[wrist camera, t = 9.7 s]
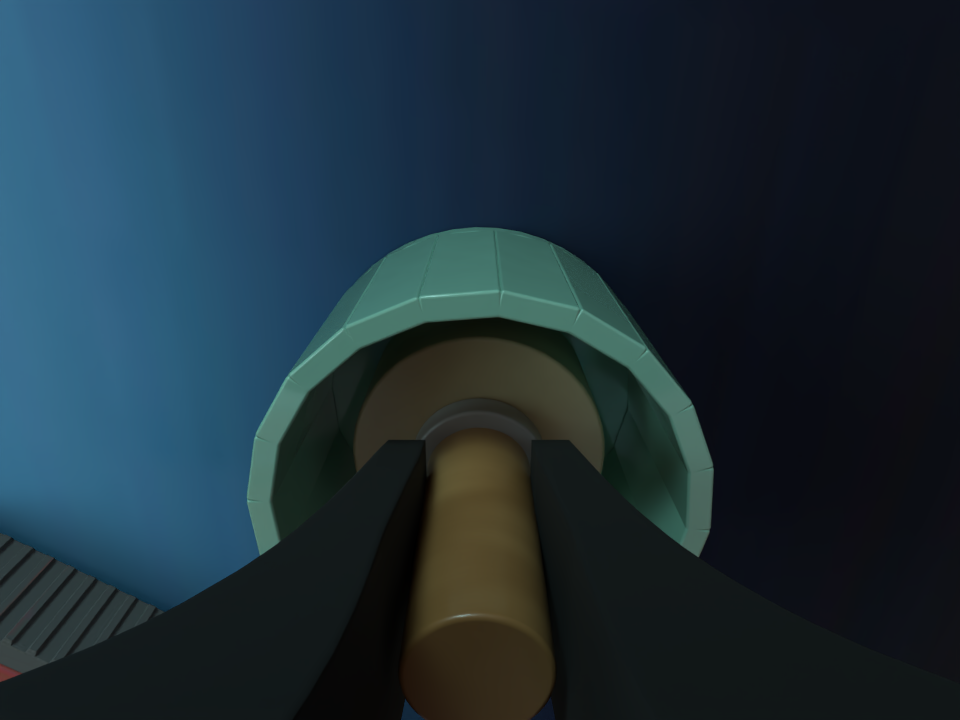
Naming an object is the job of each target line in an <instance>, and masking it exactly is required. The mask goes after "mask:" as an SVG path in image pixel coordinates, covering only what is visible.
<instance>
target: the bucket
mask: <svg viewBox="0 0 960 720" xmlns="http://www.w3.org/2000/svg"><path fill="white" fill-rule="evenodd" d="M495 317H500V318H504V319H509V320H513V321H517V322H522V323H526V324H531V325H535V326H539V327H544V328H548V329H552V330H557V331H560V332H561V333H562V334H563V335H564V337H565V338H566V339H567V340H568V342H569V343H570V345H571V346H572V348H573V349H574V351H575V353H576V355H577V357H578V359H579V361H580V364H581V367H582V369H583V372H584V375H585V377H586V380H587V383H588V385H589V388H590V391H591V393H592V396H593V399H594V401H595V404H596V407H597V409H598V412H599V415H600V419H601V422H602V425H603V432H604V439H605V456H604V462H603V469H602V472H601V475H602V476H603V477H604V478H605V479H606V480H607V481H608V482H609V483H610V484H611V485H612V486H613V487H614V488H615V489H616V490H617V491H618V492H619V493H620V494H621V495H622V496H623V497H624V498H625V499H626V500H627V501H628V502H629V503H631V504H632V505H633V506H634V507H635V508H636V509H637V510H638V511H639V512H641V513H642V514H643V515H644V516H645V517H646V518H648V519H649V520H650V521H651V522H652V523H654V524H655V525H656V526H657V527H658V528H660V529H661V530H662V531H663V532H664V533H666V534H667V535H668V536H670V537H671V538H672V539H673V540H675V541H676V542H677V543H679V544H680V545H681V546H683V547H684V548H686V549H687V550H689V551H690V552H691V553H693V554H694V555H696V556H697V557H699V555H700V553H701V551H702V549H703V546H704V544H705V542H706V539H707V537H708V535H709V529H710V528H711V513H712V495H713V476H714V468H713V462H712V459H711V456H710V453H709V450H708V447H707V444H706V441H705V438H704V435H703V432H702V429H701V425H700V422H699V419H698V416H697V413H696V410H695V407H694V405H693V404H692V402H691V400H690V399H689V397H688V396H687V394H686V393H685V391H684V390H683V388H682V387H681V386H680V384H679V383H678V381H677V380H676V378H675V377H674V376H673V374H672V373H671V371H670V370H669V368H668V367H667V366H666V364H665V363H664V361H663V360H662V358H661V357H660V355H659V354H658V353H657V351H656V350H655V348H654V347H653V345H652V344H651V343H650V341H649V340H648V338H647V337H646V335H645V334H644V332H643V331H642V330H641V328H640V327H639V325H638V324H637V322H636V321H635V320H634V318H633V317H632V315H631V314H630V312H629V311H628V310H627V309H626V307H625V306H624V305H623V304H622V302H621V301H620V300H619V299H618V297H617V296H616V295H615V293H614V292H613V290H612V289H611V288H610V287H609V286H608V285H607V284H606V282H605V281H604V280H603V279H602V278H601V276H600V275H599V274H597V273H596V272H595V271H594V270H593V269H592V268H590V267H589V266H588V265H587V264H586V263H585V262H583V261H582V260H581V259H579V258H578V257H576V256H575V255H573V254H571V253H570V252H568V251H567V250H565V249H564V248H562V247H560V246H557V245H555V244H553V243H551V242H549V241H547V240H544V239H542V238H539V237H536V236H532V235H529V234H526V233H523V232H518V231H512V230H506V229H501V228H480V227H474V228H463V229H453V230H448V231H444V232H440V233H435V234H431V235H428V236H426V237H423V238H420V239H418V240H415V241H412V242H410V243H408V244H406V245H404V246H402V247H400V248H398V249H397V250H395V251H393V252H391V253H389V254H388V255H387V256H385V257H384V258H382V259H381V260H380V261H378V262H377V263H376V264H374V265H373V266H372V267H371V268H370V269H369V270H368V271H367V272H365V273H364V274H363V275H362V276H361V277H360V278H359V279H358V280H357V281H356V283H355V284H354V285H353V286H352V287H351V288H349V289H348V290H347V291H346V293H345V294H344V295H343V297H342V298H341V299H340V301H339V302H338V304H337V305H336V307H335V308H334V309H333V311H332V312H331V314H330V315H329V317H328V318H327V320H326V321H325V322H324V324H323V325H322V327H321V328H320V330H319V331H318V332H317V334H316V335H315V337H314V338H313V340H312V341H311V342H310V344H309V345H308V347H307V348H306V350H305V351H304V353H303V354H302V355H301V357H300V358H299V360H298V361H297V363H296V364H295V365H294V367H293V368H292V370H291V371H290V373H289V374H288V375H287V377H286V379H285V380H284V382H283V384H282V386H281V388H280V390H279V391H278V393H277V395H276V397H275V399H274V401H273V402H272V404H271V406H270V408H269V410H268V411H267V413H266V415H265V417H264V419H263V421H262V422H261V424H260V426H259V428H258V430H257V432H256V436H255V438H254V444H253V451H252V459H251V467H250V475H249V483H248V490H247V499H248V500H247V504H248V508H249V512H250V516H251V520H252V524H253V528H254V533H255V537H256V541H257V545H258V549H259V553H260V555H262V554H263V553H265V552H266V551H268V550H269V549H270V548H272V547H273V546H275V545H276V544H277V543H279V542H280V541H281V540H283V539H284V538H285V537H287V536H288V535H289V534H291V533H292V532H293V531H294V530H296V529H297V528H298V527H299V526H300V525H302V524H303V523H304V522H305V521H306V520H307V519H308V518H310V517H311V516H312V515H313V514H314V513H315V512H317V511H318V510H319V509H320V508H321V507H322V506H323V505H324V504H326V503H327V502H328V501H329V500H330V499H331V498H332V497H333V496H334V495H335V494H336V493H337V492H338V491H339V490H340V489H341V488H342V487H343V486H344V485H345V484H346V483H347V482H348V481H349V480H350V479H351V478H352V477H353V476H354V475H355V474H356V473H357V472H356V469H355V463H354V456H353V438H354V431H355V425H356V421H357V418H358V415H359V411H360V409H361V406H362V404H363V401H364V398H365V396H366V393H367V391H368V388H369V386H370V383H371V380H372V378H373V375H374V373H375V370H376V368H377V365H378V363H379V360H380V358H381V356H382V354H383V352H384V350H385V348H386V347H387V345H388V344H389V342H390V341H391V339H392V338H393V337H394V336H395V335H397V334H399V333H402V332H404V331H407V330H409V329H412V328H414V327H417V326H419V325H422V324H424V323H430V322H443V321H456V320H469V319H482V318H495Z"/></svg>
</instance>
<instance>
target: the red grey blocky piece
mask: <svg viewBox="0 0 960 720" xmlns="http://www.w3.org/2000/svg"><path fill="white" fill-rule="evenodd" d="M162 613H164V612H163V611H161V610H159V609H157V608H156V607H155V606H153V605H151V604H147V603H145V602H142V601H140V600H138V599H137V598H136V597H134V596H132V595H128V594H126V593H124V592H122V591H120V590H118V589H117V588H115V587H113V586H111V585H107V584H105V583H103V582H101V581H99V580H97V579H96V578H94V577H92V576H90V575H86V574H84V573H82V572H80V571H78V570H76V569H75V568H74V567H72V566H70V565H66V564H64V563H62V562H60V561H57V560H56V559H55V558H53V557H51V556H49V555H45V554H43V553H41V552H39V551H36V550H35V549H34V548H32V547H30V546H28V545H24V544H22V543H20V542H18V541H16V540H14V539H12V538H11V537H9V536H7V535H3V534H1V533H0V682H1V681H4V680H7V679H10V678H12V677H15V676H17V675H20V674H22V673H25V672H28V671H30V670H33V669H35V668H38V667H40V666H43V665H46V664H48V663H51V662H53V661H56V660H58V659H61V658H64V657H66V656H69V655H71V654H74V653H76V652H79V651H82V650H84V649H86V648H89V647H91V646H93V645H96V644H98V643H100V642H103V641H105V640H107V639H109V638H111V637H114V636H116V635H118V634H120V633H122V632H124V631H127V630H129V629H131V628H133V627H135V626H137V625H140V624H142V623H144V622H146V621H148V620H150V619H152V618H154V617H156V616H158V615H160V614H162Z"/></svg>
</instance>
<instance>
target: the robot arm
mask: <svg viewBox="0 0 960 720" xmlns="http://www.w3.org/2000/svg"><path fill="white" fill-rule="evenodd" d="M530 478H531V486H532V493H533V501H534V509H535V515H536V520H537V525H538V531H539V538H540V544H541V552H542V559H543V567H544V574H545V582H546V589H547V597H548V604H549V612H550V619H551V627H552V634H553V642H554V649H555V657H556V664H557V678H556V683H555V686H554V690H553V692H552V694H551V699H552V704H553V709H554V714H555V719H556V720H960V684H959V683H956V682H954V681H951V680H949V679H946V678H943V677H941V676H938V675H936V674H933V673H930V672H928V671H925V670H923V669H920V668H917V667H915V666H912V665H910V664H907V663H904V662H902V661H899V660H897V659H894V658H891V657H889V656H886V655H884V654H881V653H878V652H876V651H873V650H871V649H868V648H866V647H864V646H861V645H859V644H857V643H855V642H852V641H850V640H848V639H846V638H844V637H842V636H839V635H837V634H835V633H833V632H831V631H829V630H826V629H824V628H822V627H820V626H818V625H816V624H813V623H811V622H809V621H807V620H805V619H803V618H801V617H799V616H797V615H795V614H793V613H791V612H789V611H787V610H786V609H784V608H782V607H780V606H778V605H776V604H774V603H772V602H771V601H769V600H767V599H765V598H764V597H762V596H760V595H758V594H757V593H755V592H753V591H751V590H749V589H748V588H746V587H744V586H742V585H741V584H739V583H737V582H736V581H734V580H732V579H731V578H729V577H727V576H726V575H724V574H723V573H721V572H719V571H718V570H716V569H715V568H713V567H712V566H710V565H709V564H707V563H706V562H705V561H703V560H702V559H700V558H699V557H697V556H696V555H694V554H693V553H691V552H690V551H689V550H687V549H686V548H684V547H683V546H681V545H680V544H679V543H677V542H676V541H675V540H673V539H672V538H671V537H670V536H668V535H667V534H666V533H664V532H663V531H662V530H661V529H660V528H658V527H657V526H656V525H655V524H654V523H652V522H651V521H650V520H649V519H648V518H646V517H645V516H644V515H643V514H642V513H641V512H639V511H638V510H637V509H636V508H635V507H634V506H633V505H632V504H631V503H629V502H628V501H627V500H626V499H625V498H624V497H623V496H622V495H621V494H620V493H619V492H618V491H617V490H616V489H615V488H614V487H613V486H612V485H611V484H610V483H609V482H608V481H607V480H606V479H605V478H604V477H603V476H602V475H601V474H600V473H599V472H598V471H597V469H596V468H595V467H594V466H593V465H592V464H591V463H590V462H589V461H588V460H587V459H586V458H585V456H584V455H583V454H582V453H581V452H580V451H579V450H578V449H577V448H576V447H575V446H574V445H573V444H572V443H571V441H570V440H532V443H531V475H530ZM426 479H427V471H426V441H425V440H388V441H387V442H386V443H385V444H384V445H382V446H381V447H380V449H379V450H378V451H377V452H376V453H375V454H374V455H373V456H372V457H371V458H370V459H369V460H368V461H367V462H366V463H365V464H364V466H363V467H362V468H361V469H360V470H359V471H358V472H357V473H356V474H355V475H354V476H353V477H352V478H351V479H350V480H349V481H348V482H347V483H346V484H345V485H344V486H343V487H342V488H341V489H340V490H339V491H338V492H337V493H336V494H335V495H334V496H333V497H332V498H331V499H330V500H329V501H328V502H327V503H326V504H324V505H323V506H322V507H321V508H320V509H319V510H318V511H317V512H315V513H314V514H313V515H312V516H311V517H310V518H308V519H307V520H306V521H305V522H304V523H303V524H302V525H300V526H299V527H298V528H297V529H296V530H294V531H293V532H292V533H291V534H289V535H288V536H287V537H285V538H284V539H283V540H281V541H280V542H279V543H277V544H276V545H275V546H273V547H272V548H270V549H269V550H268V551H266V552H265V553H263V554H262V555H260V556H259V557H257V558H256V559H255V560H253V561H252V562H250V563H249V564H247V565H246V566H244V567H243V568H241V569H240V570H238V571H236V572H235V573H233V574H231V575H230V576H228V577H226V578H224V579H223V580H221V581H219V582H218V583H216V584H214V585H212V586H211V587H209V588H207V589H206V590H204V591H202V592H200V593H199V594H197V595H195V596H194V597H192V598H190V599H188V600H187V601H185V602H183V603H181V604H179V605H178V606H176V607H174V608H172V609H170V610H168V611H166V612H164V613H162V614H160V615H158V616H156V617H154V618H152V619H150V620H148V621H146V622H144V623H142V624H140V625H137V626H135V627H133V628H131V629H129V630H127V631H124V632H122V633H120V634H118V635H116V636H114V637H111V638H109V639H107V640H105V641H103V642H100V643H98V644H96V645H93V646H91V647H89V648H86V649H84V650H82V651H79V652H76V653H74V654H71V655H69V656H66V657H64V658H61V659H58V660H56V661H53V662H51V663H48V664H46V665H43V666H40V667H38V668H35V669H33V670H30V671H28V672H25V673H22V674H20V675H17V676H15V677H12V678H10V679H7V680H4V681H1V682H0V720H401V717H402V712H403V707H404V702H405V696H404V694H403V692H402V690H401V687H400V684H399V679H398V663H399V656H400V649H401V643H402V636H403V629H404V622H405V615H406V609H407V602H408V595H409V588H410V581H411V574H412V568H413V561H414V554H415V547H416V541H417V535H418V529H419V524H420V519H421V514H422V508H423V501H424V493H425V486H426Z"/></svg>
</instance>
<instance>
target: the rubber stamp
mask: <svg viewBox="0 0 960 720" xmlns="http://www.w3.org/2000/svg"><path fill="white" fill-rule="evenodd" d="M388 440H425V441H426V471H427V479H426V486H425V493H424V501H423V508H422V514H421V519H420V524H419V529H418V535H417V541H416V547H415V554H414V561H413V568H412V574H411V581H410V588H409V595H408V602H407V609H406V615H405V622H404V629H403V636H402V643H401V649H400V656H399V663H398V679H399V684H400V687H401V690H402V692H403V694H404V696H405V698H406V700H407V702H408V703H409V705H410V706H411V707H412V708H413V709H414V710H415V711H416V712H417V713H418V714H419V715H420V716H421V717H423V718H424V719H425V720H530V719H531V718H533V717H534V716H535V715H536V714H538V713H539V712H540V710H541V709H542V708H543V707H544V706H545V705H546V703H547V702H548V700H549V698H550V696H551V694H552V692H553V690H554V686H555V683H556V678H557V664H556V657H555V649H554V642H553V634H552V627H551V619H550V612H549V604H548V597H547V589H546V582H545V574H544V567H543V559H542V552H541V544H540V538H539V531H538V525H537V520H536V515H535V509H534V501H533V493H532V486H531V478H530V475H531V443H532V440H570V441H571V443H572V444H573V445H574V446H575V447H576V448H577V449H578V450H579V451H580V452H581V453H582V454H583V455H584V456H585V458H586V459H587V460H588V461H589V462H590V463H591V464H592V465H593V466H594V467H595V468H596V469H597V471H598V472H599V473H600V474H601V472H602V469H603V462H604V456H605V439H604V432H603V425H602V422H601V419H600V415H599V412H598V409H597V407H596V404H595V401H594V399H593V396H592V393H591V391H590V388H589V385H588V383H587V380H586V377H585V375H584V372H583V369H582V367H581V364H580V361H579V359H578V357H577V355H576V353H575V351H574V349H573V348H572V346H571V345H570V343H569V342H568V340H567V339H566V338H565V337H564V335H563V334H562V333H561V332H560V331H557V330H552V329H548V328H544V327H539V326H535V325H531V324H526V323H522V322H517V321H513V320H509V319H504V318H500V317H495V318H482V319H469V320H456V321H443V322H430V323H424V324H422V325H419V326H417V327H414V328H412V329H409V330H407V331H404V332H402V333H399V334H397V335H395V336H394V337H393V338H392V339H391V341H390V342H389V344H388V345H387V347H386V348H385V350H384V352H383V354H382V356H381V358H380V360H379V363H378V365H377V368H376V370H375V373H374V375H373V378H372V380H371V383H370V386H369V388H368V391H367V393H366V396H365V398H364V401H363V404H362V406H361V409H360V411H359V415H358V418H357V421H356V425H355V431H354V438H353V456H354V463H355V469H356V472H358V471H359V470H360V469H361V468H362V467H363V466H364V464H365V463H366V462H367V461H368V460H369V459H370V458H371V457H372V456H373V455H374V454H375V453H376V452H377V451H378V450H379V449H380V447H381V446H382V445H384V444H385V443H386V442H387V441H388Z"/></svg>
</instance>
